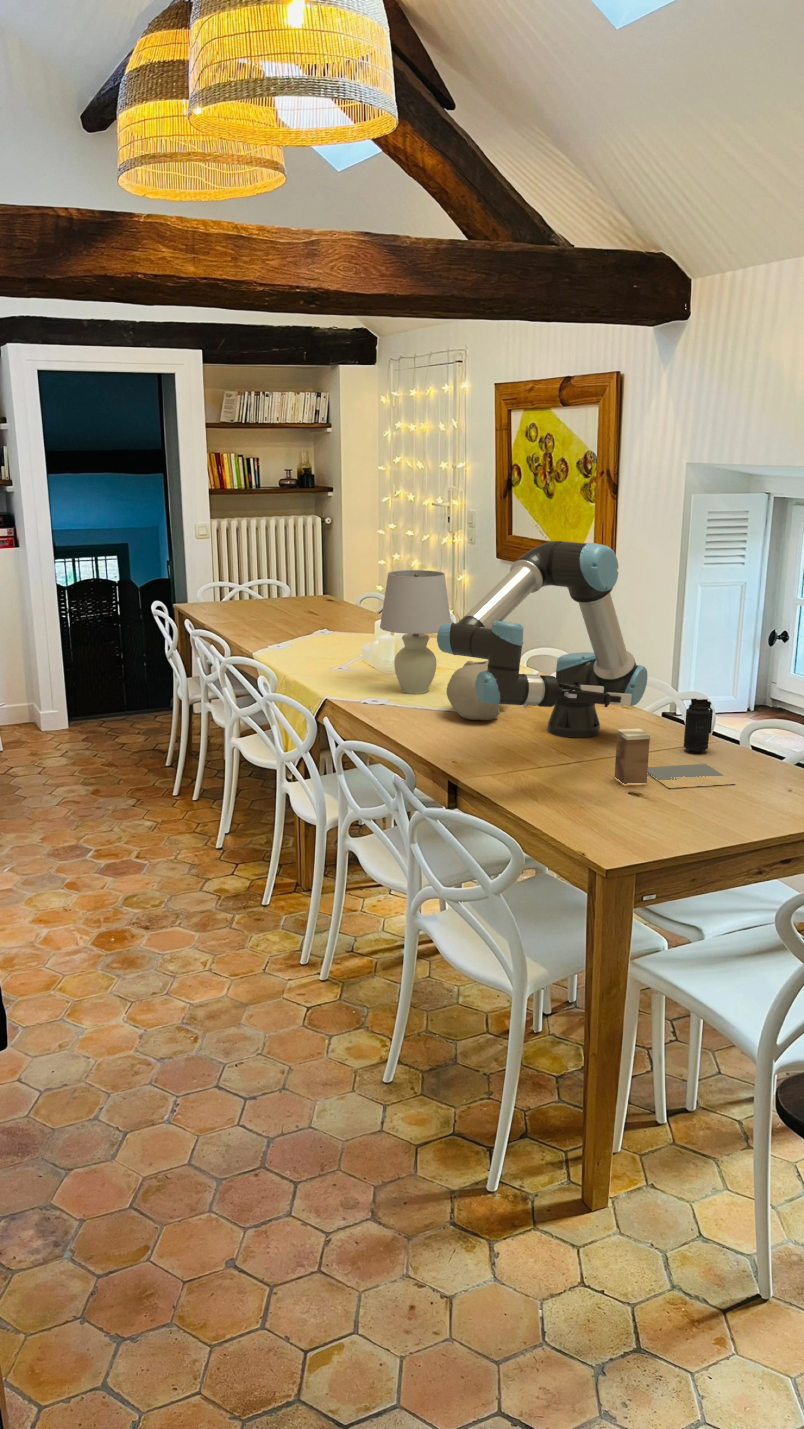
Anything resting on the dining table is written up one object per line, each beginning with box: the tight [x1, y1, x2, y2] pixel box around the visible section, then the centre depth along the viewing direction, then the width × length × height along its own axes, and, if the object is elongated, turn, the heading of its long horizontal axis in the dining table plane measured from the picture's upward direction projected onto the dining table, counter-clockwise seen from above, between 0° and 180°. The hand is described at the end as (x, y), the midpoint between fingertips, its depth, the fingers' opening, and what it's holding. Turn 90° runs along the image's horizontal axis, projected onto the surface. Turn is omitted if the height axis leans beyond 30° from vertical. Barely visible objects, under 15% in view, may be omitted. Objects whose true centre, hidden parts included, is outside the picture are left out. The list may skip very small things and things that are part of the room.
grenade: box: [683, 698, 714, 754], centre depth 292 cm, size 7×7×15 cm
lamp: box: [379, 569, 452, 695], centre depth 356 cm, size 24×24×40 cm
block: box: [614, 728, 651, 784], centre depth 266 cm, size 6×6×13 cm
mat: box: [647, 763, 724, 780], centre depth 271 cm, size 16×18×1 cm
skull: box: [446, 660, 501, 721], centre depth 327 cm, size 20×25×20 cm
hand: (616, 695), depth 262 cm, fingers open, 13 cm apart
